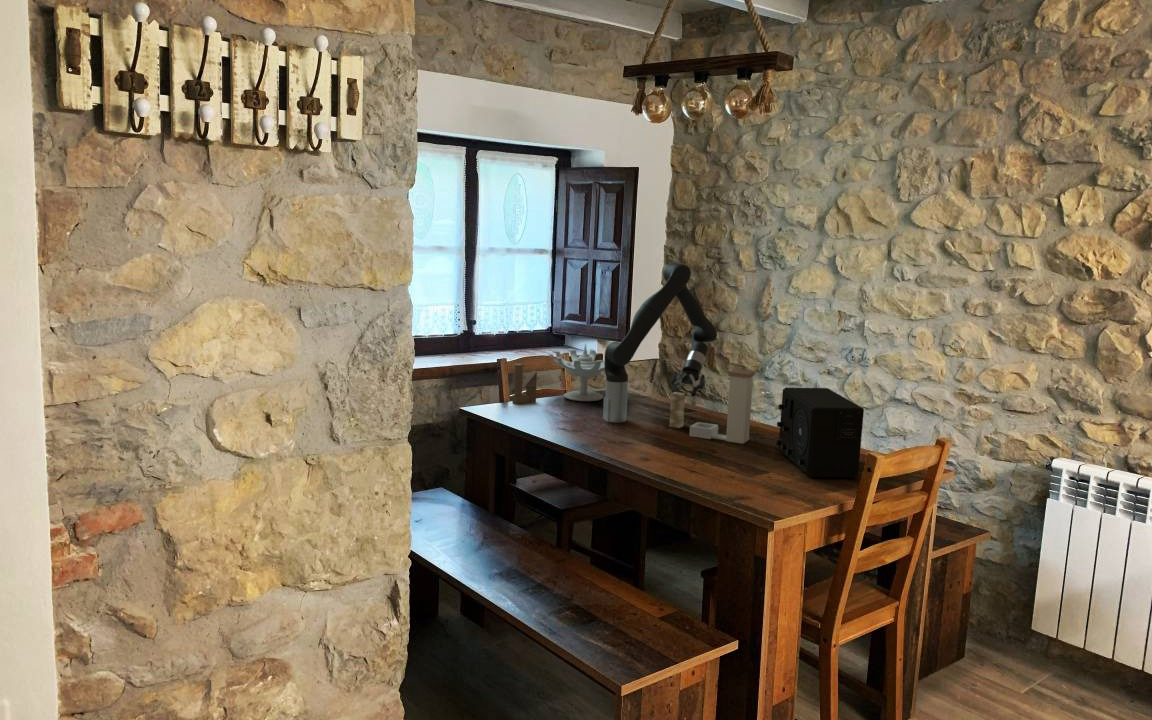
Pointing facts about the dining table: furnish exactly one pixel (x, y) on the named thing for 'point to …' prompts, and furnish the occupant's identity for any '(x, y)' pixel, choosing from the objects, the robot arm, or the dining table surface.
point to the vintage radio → (820, 432)
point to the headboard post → (732, 411)
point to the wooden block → (524, 386)
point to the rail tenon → (677, 409)
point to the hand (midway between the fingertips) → (682, 394)
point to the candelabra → (582, 372)
